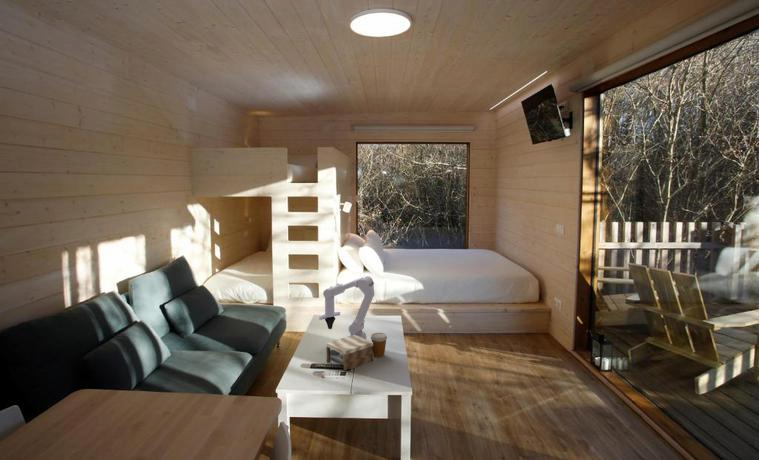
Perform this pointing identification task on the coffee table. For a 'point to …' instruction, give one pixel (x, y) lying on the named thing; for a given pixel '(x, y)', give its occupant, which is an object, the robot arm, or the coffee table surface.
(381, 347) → the disposable coffee cup
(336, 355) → the tray
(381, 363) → the coffee table surface
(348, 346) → the wooden slatted crate
